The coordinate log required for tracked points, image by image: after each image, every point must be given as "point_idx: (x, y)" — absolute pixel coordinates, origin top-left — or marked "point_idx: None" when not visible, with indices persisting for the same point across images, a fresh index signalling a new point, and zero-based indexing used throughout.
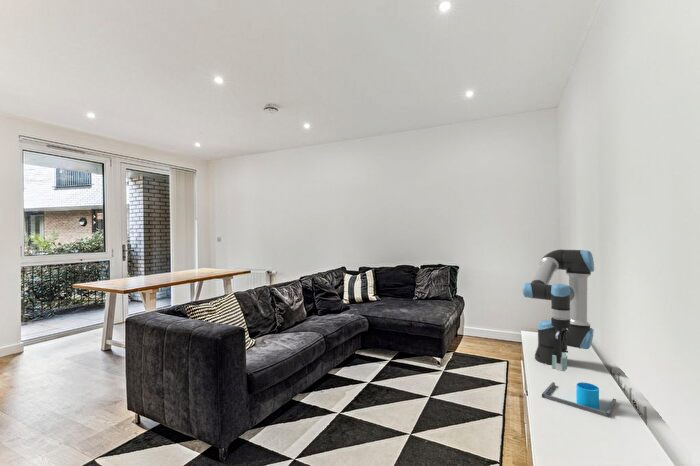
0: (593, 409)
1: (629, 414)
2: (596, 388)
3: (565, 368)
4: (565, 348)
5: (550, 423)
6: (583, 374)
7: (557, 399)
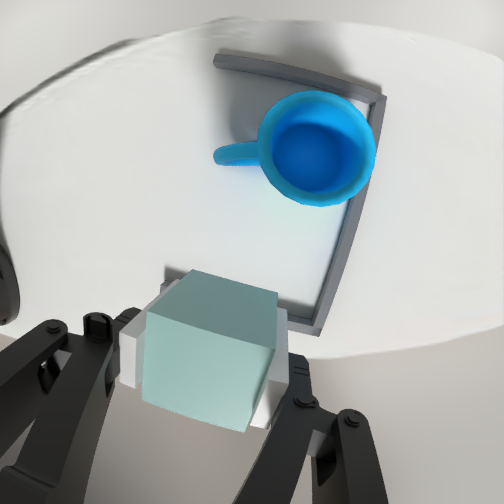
0: (377, 144)
1: (309, 33)
2: (313, 102)
3: (242, 289)
4: (90, 364)
5: (483, 292)
6: (27, 180)
7: (339, 279)
